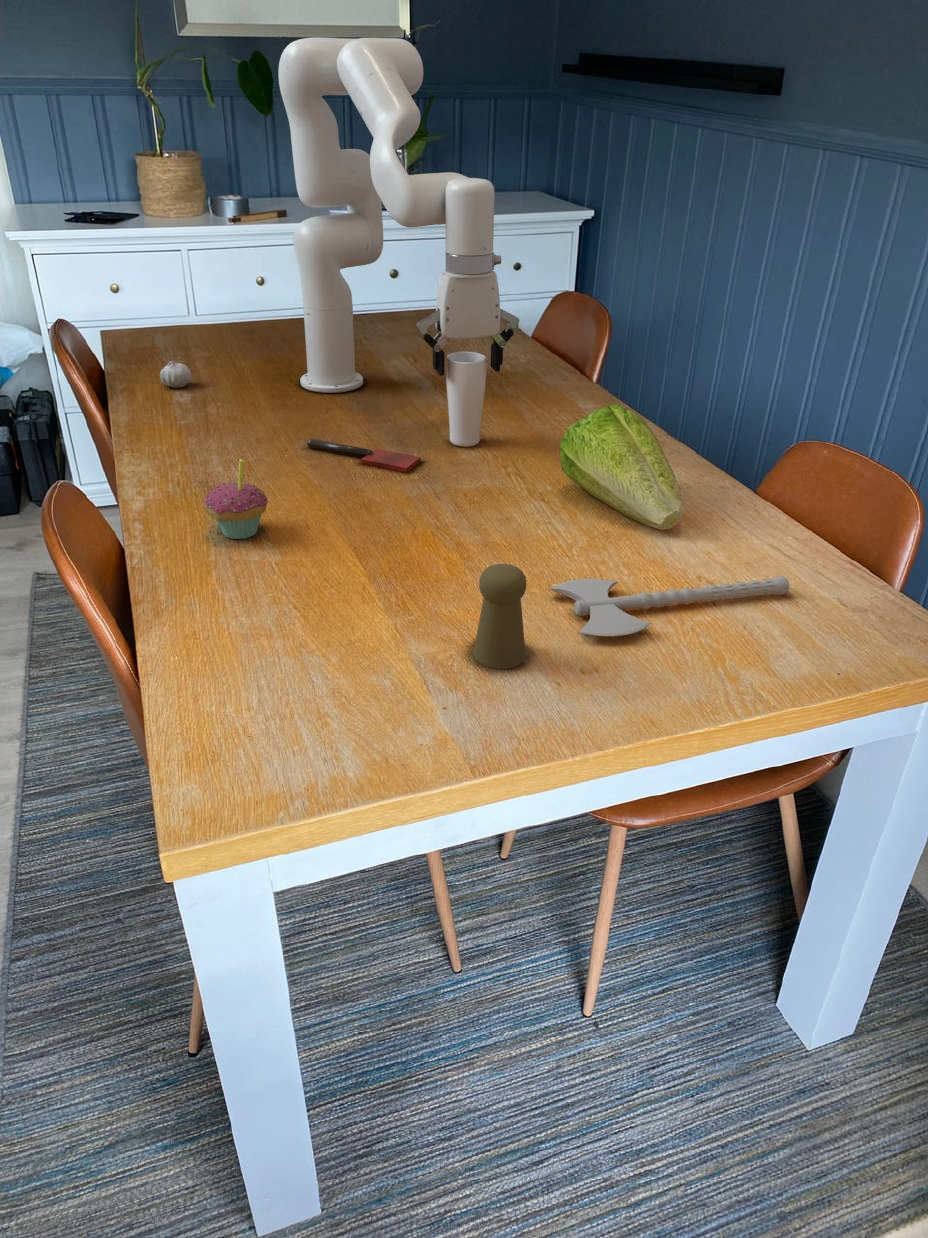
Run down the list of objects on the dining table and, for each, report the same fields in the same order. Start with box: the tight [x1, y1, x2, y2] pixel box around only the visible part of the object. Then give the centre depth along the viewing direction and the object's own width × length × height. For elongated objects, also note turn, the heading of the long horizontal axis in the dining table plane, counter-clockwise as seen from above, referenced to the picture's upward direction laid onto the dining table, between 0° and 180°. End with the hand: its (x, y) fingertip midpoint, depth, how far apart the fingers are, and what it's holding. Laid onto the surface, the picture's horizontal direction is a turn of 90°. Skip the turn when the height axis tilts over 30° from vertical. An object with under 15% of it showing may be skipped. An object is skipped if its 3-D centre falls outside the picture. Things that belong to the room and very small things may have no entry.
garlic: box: [159, 360, 192, 389], centre depth 188 cm, size 6×5×5 cm
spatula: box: [306, 438, 422, 474], centre depth 160 cm, size 20×5×2 cm, turn 66°
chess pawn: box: [472, 563, 527, 670], centre depth 107 cm, size 6×6×11 cm
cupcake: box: [203, 454, 269, 540], centre depth 132 cm, size 9×8×12 cm
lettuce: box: [559, 403, 684, 531], centre depth 142 cm, size 14×23×14 cm
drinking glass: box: [445, 351, 487, 448], centre depth 163 cm, size 7×7×15 cm
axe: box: [549, 575, 790, 637], centre depth 119 cm, size 30×14×2 cm, turn 104°
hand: (467, 371), depth 160 cm, fingers open, 9 cm apart
